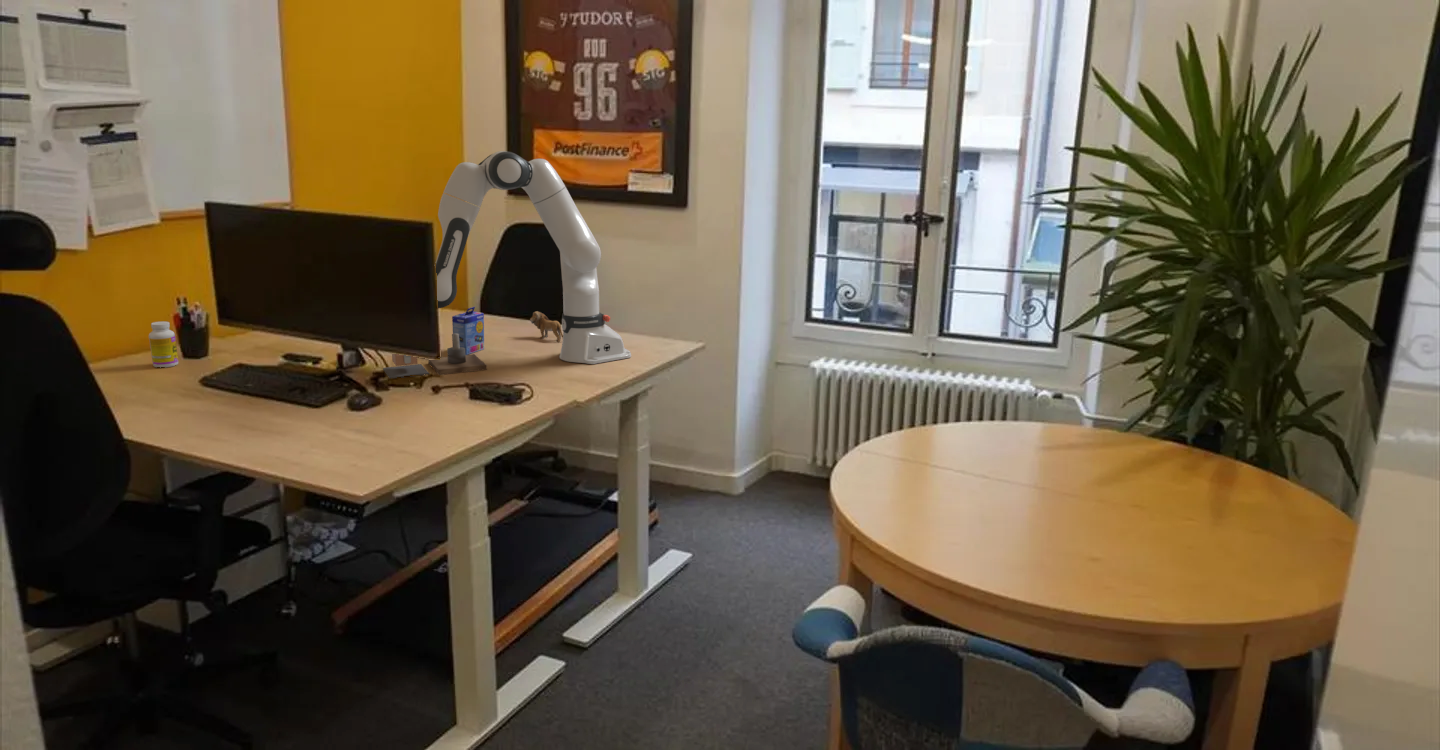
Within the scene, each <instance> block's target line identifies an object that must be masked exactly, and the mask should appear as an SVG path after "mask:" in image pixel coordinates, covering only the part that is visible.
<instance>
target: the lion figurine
mask: <svg viewBox="0 0 1440 750" xmlns="http://www.w3.org/2000/svg"><path fill="white" fill-rule="evenodd" d="M529 321H530V322H531V324H533V325H534V326H535V327H537V329H538V330H540V334H541V336H540V337H539V339H540V340H541V339H542V340H543V339H545V338H547V337H549V332H552V333H553V335H555V337H556V342H557V343H561V337H562V339H563V330H562V324H561V323H560V322H559V321H558V320H550V319H549V318H548V316H546V315H545V314H544V313H542V312H541V311H538V310H537V311H534V312H532V316H531V317H530V318H529Z"/></svg>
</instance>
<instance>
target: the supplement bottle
mask: <svg viewBox="0 0 1440 750" xmlns="http://www.w3.org/2000/svg"><path fill="white" fill-rule="evenodd" d="M150 326H151V329H152V331H151V332H149V334H148V340H149V348H150V352H151V353H150V354H151V360H152V366H153V367H154V368H157V367H160V368H161V367H165V368H173V367H175V365H176V366H177V365H179V357H178V347H177V343H176V342H177V341H176V334H175V332H174V331H173V330H171V329H170V327H171V326H170V322H169V321H163V320H162V321H153V322H151V324H150ZM160 368H159V369H160ZM161 369H162V368H161Z"/></svg>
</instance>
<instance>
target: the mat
mask: <svg viewBox="0 0 1440 750" xmlns="http://www.w3.org/2000/svg"><path fill="white" fill-rule="evenodd" d="M382 370H383V371H384V373H385V374H386V375H387V377H388V378H389V379H391V378H392V379H398V378H397V377H401V378H405V377H404V376H410V375H420V376H427V375H426V374H429V375H430V373H429V371H428V370H427V369H426V368H425V367H424V366H423V365H422V364H421V363H418V364H412V365H402V366H396V365H395V366H388V367H387V366H386V367H383V368H382ZM424 374H425V375H424ZM410 377H411V376H410Z"/></svg>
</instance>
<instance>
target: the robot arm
mask: <svg viewBox="0 0 1440 750" xmlns="http://www.w3.org/2000/svg"><path fill="white" fill-rule="evenodd" d="M563 181H564V180H563V179H562V178H561V176H560V175H559V174H558V172H557V170H556V169H555V168H554V167H553V165H552V164H551V163H550V161H548V160H546V159H545V158H534V159H531V160H529V161H528V160H526V159H524V158H523V157H521V156H520V155H518V154H516V153H514V152H512V151H507V150H500V151H496V152H494V153H491V154H489V155H488V156H487V157H485V158H484V159H483V160H482V161H481V162H480V163H478V164H477V163H474V162H469V161H464V162H461V163H458V165H456V166H455V168H454V170H453V172H452V173H451V175H450V177H449V179H448V181H447V183H446V185H445V188H444V190H443V193H442V195H441V197H440V202H439V207H438V213H437V217H438V220H439V222H440V226H441V229H442V239H441V240H442V241H441V244H440V246H439V247H440V248H439V250H438V253H437V256H436V261H435V263H436V273H437V300H438V308H437V309H442V308H445V307H448V306H450V305H451V304H452V303H453V302H454V300H455V299H456V297H457V292H458V284H457V275H458V270H459V268H460V265H461V261H462V258H463V255H464V251H465V248H466V245H467V240H468V238H469V236H470V233H471V231H472V229H473V227H474V224H475V222H476V220H477V217H478V215H479V213H480V210H481V207H482V203H483V201H484V198H485V196H486V195H487V193H488V192H489V191H490V190H491V189H497V190H501V191H508V190H514V189H520V188H521V189H523V191H525V193H526V194H527V195H528V197H529V200H530V201H531V203H532V205H533V207H534V208H535V210H536V212H537V214H538V216H539V217H540V219H541V221H542V222H543V224H544V227H545V228H546V230H547V231H548V233H549V235H550V237H551V239H552V240H553V242H554V243H555V245H556V247H557V249H558V250H559V255H560V257H559V258H560V269H561V281H562V282H561V283H562V295H563V296H562V299H563V301H562V302H563V305H562V307H563V309H562V310H563V313H562V315H561V330H562V335H563V338H562V343H561V349H560V353H559V360H562V361H564V362H568V363H569V362H570V363H582V364H588V365H594V364H595V365H596V364H600V363H601V364H602V363H607V362H612V361H617V360H624V359H629V358H631V357H632V353H631V351H630V350H629V349H627V348H625V346H624V345H625V344H624V341H623V337H622V336H621V335H620V334H619V333H618V332H617V331H615V330H614V329H613V328H611V327H610V326H609V325H607V324H606V323H608V322H610V321H611V316H609V315H608V314H604V313H602V312H600V289H599V288H600V286H599V279H598V270H597V267H598V265H600V262H601V259H602V250H601V248H600V245H599V243H598V242H597V240H596V238H595V236H594V234H593V233H592V231H591V229H590V228H589V226H588V224H587V222H586V221H585V219H584V217H583V215H582V214H581V212H580V210H579V208H578V207H577V205H576V204H575V201H574V200H573V198H572V196H571V194H570V192H569V190H568V188H567V186H566V184H565V183H564V182H563ZM403 358H404V362H405V363H406V364H407V363H411V356H406V355H404V357H403Z"/></svg>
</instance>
